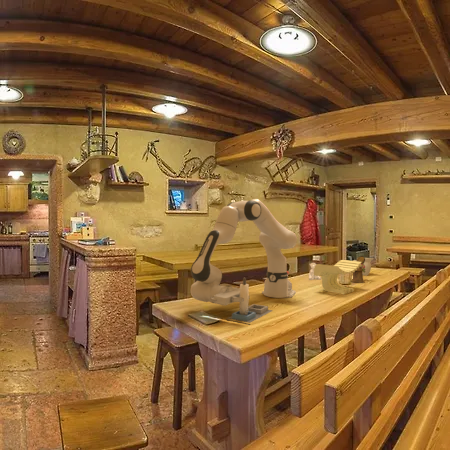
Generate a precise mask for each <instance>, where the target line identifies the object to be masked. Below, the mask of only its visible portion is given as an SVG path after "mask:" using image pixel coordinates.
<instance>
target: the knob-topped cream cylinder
mask: <svg viewBox="0 0 450 450" xmlns="http://www.w3.org/2000/svg"><path fill="white" fill-rule="evenodd" d="M249 286H250V285H249V283H247V278H246V277H243V278H242V283H240V285H239V288H240V297H241V298H244V301H243V302H239V310H240V315H246V316H247V315H248V306H249V300H250V295H249V293H250V291H249V288H250V287H249Z"/></svg>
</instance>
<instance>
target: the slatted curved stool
mask: <svg viewBox="0 0 450 450" xmlns="http://www.w3.org/2000/svg"><path fill="white" fill-rule="evenodd" d="M316 264H317V265H316V266H315V267H314V276H320V277H321V288H322V289H323V291H325V292H330V293H335V294H342V295H347V294H349V293H353V292H355V289H354V288H353V287H347V286H345V285H341V284H339V283H338V281H337V280H338V277H339V275H348V274H352V273H353V272H355V270H357V268H359V267H360V266H361V262H357V261H353V260H347V259H341V260H338V261H337V263H335V264H333V265H329V264H324V263H323V264H322V263H316Z"/></svg>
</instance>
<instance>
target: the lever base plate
mask: <svg viewBox="0 0 450 450" xmlns="http://www.w3.org/2000/svg"><path fill="white" fill-rule="evenodd" d="M273 311H274V310H273V309H272V310H271V309H269V306H266V305H261V304H255V303H253V304H251V305H248V315H247V316H246V315H240V309H239V310H237V311H235V312H233V313H231V316H228V317H227V318H226V320H225V321H227V322H232V323H239V324H244V325H249V326H250V325H252V324H250V323H252V322H254V321H256V320H257V319H260V318H262V317H263V316H265V315H268V314H269V313H272V312H273Z"/></svg>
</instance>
